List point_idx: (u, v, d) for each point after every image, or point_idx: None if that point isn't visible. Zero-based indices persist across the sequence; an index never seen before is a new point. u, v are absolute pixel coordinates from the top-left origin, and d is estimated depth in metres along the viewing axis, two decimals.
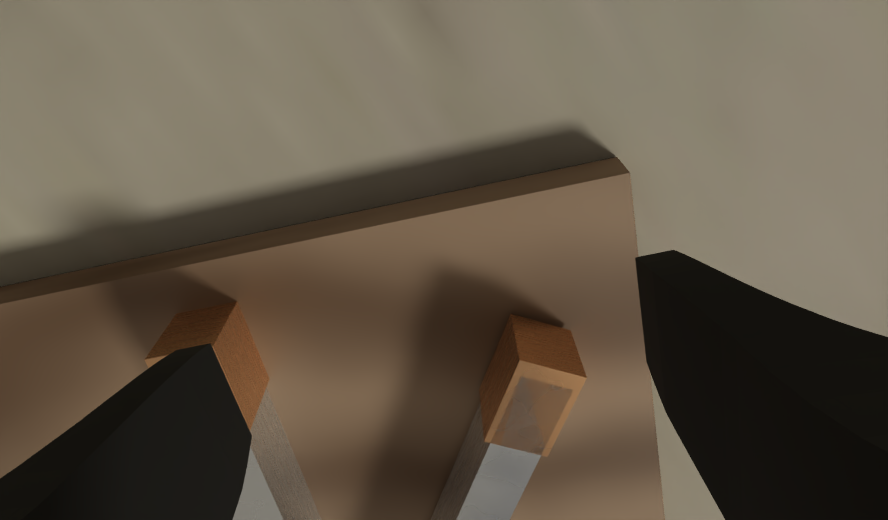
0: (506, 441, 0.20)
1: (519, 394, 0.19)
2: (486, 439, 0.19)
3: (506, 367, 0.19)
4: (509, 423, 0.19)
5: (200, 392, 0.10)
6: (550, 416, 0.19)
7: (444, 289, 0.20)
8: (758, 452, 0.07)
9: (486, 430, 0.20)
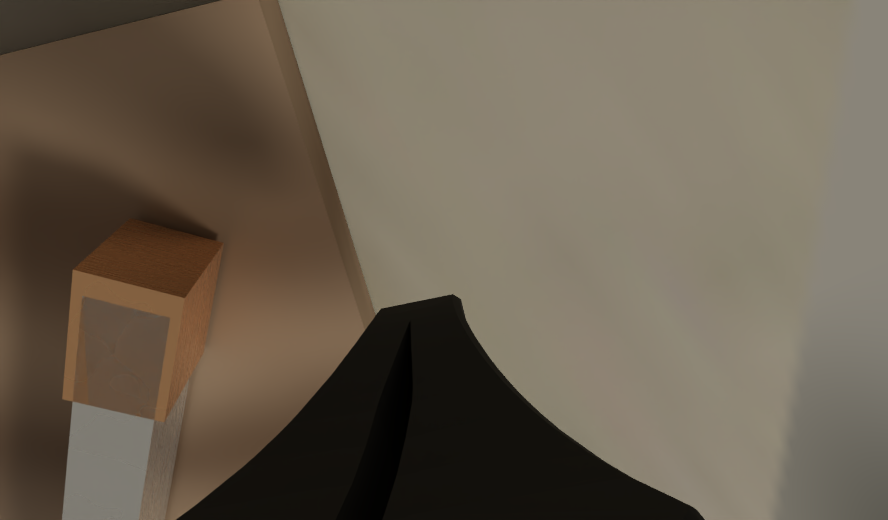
0: (96, 399, 0.13)
1: (91, 325, 0.12)
2: (64, 395, 0.13)
3: None
4: (90, 371, 0.13)
5: None
6: (149, 360, 0.13)
7: (30, 181, 0.14)
8: None
9: None
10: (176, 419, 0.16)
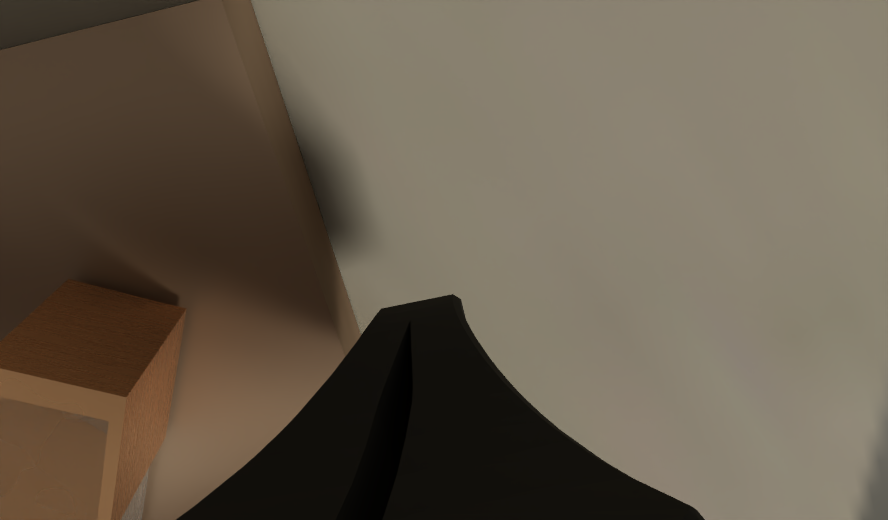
0: (20, 516, 0.10)
1: (6, 429, 0.10)
2: None
3: None
4: (9, 485, 0.10)
5: None
6: (85, 470, 0.10)
7: None
8: None
9: None
10: (133, 517, 0.13)
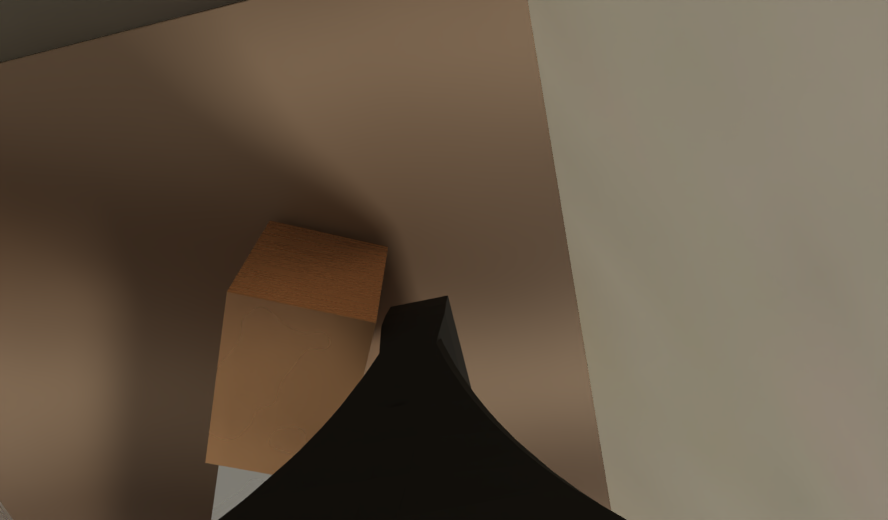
0: (250, 460, 0.10)
1: (248, 365, 0.09)
2: (208, 458, 0.10)
3: None
4: (243, 425, 0.10)
5: (453, 343, 0.10)
6: (322, 407, 0.10)
7: (191, 187, 0.11)
8: None
9: None
10: None
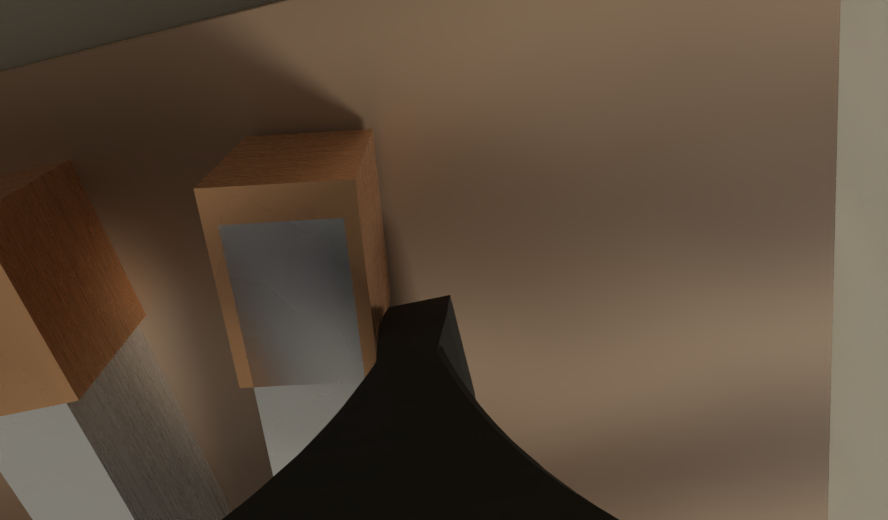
0: (283, 374, 0.09)
1: (242, 265, 0.09)
2: (240, 382, 0.09)
3: None
4: (263, 336, 0.09)
5: (455, 342, 0.10)
6: (334, 293, 0.09)
7: (462, 131, 0.11)
8: None
9: None
10: None
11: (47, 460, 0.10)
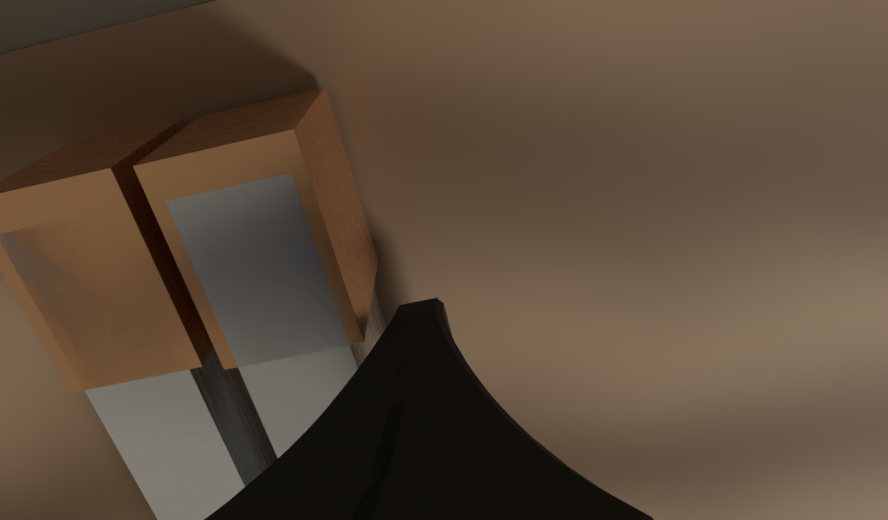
0: (265, 349, 0.09)
1: (199, 240, 0.08)
2: (223, 363, 0.09)
3: None
4: (235, 312, 0.09)
5: None
6: (298, 255, 0.08)
7: (591, 90, 0.10)
8: None
9: None
10: None
11: (163, 430, 0.10)
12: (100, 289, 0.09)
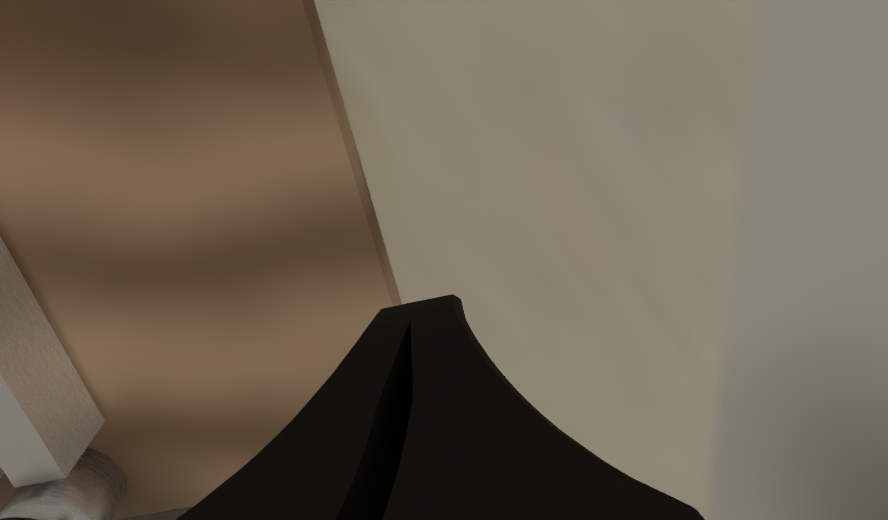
0: None
1: None
2: None
3: None
4: None
5: None
6: None
7: None
8: None
9: None
10: None
11: None
12: None
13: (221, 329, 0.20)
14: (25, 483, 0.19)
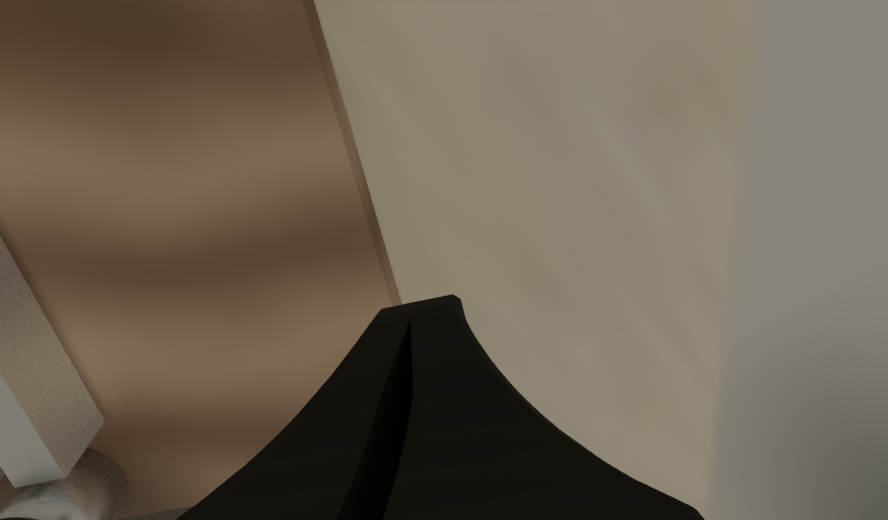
0: None
1: None
2: None
3: None
4: None
5: None
6: None
7: None
8: None
9: None
10: None
11: None
12: None
13: (221, 329, 0.20)
14: (25, 483, 0.19)
